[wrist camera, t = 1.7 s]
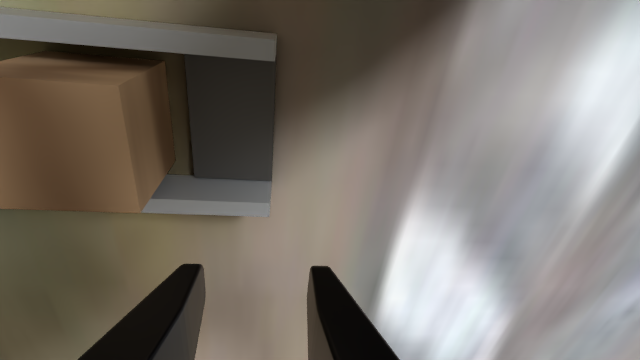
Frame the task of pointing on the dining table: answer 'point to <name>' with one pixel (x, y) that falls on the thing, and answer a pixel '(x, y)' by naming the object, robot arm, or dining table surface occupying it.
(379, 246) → the dining table surface
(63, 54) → the block
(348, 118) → the dining table surface
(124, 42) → the channel
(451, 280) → the dining table surface
